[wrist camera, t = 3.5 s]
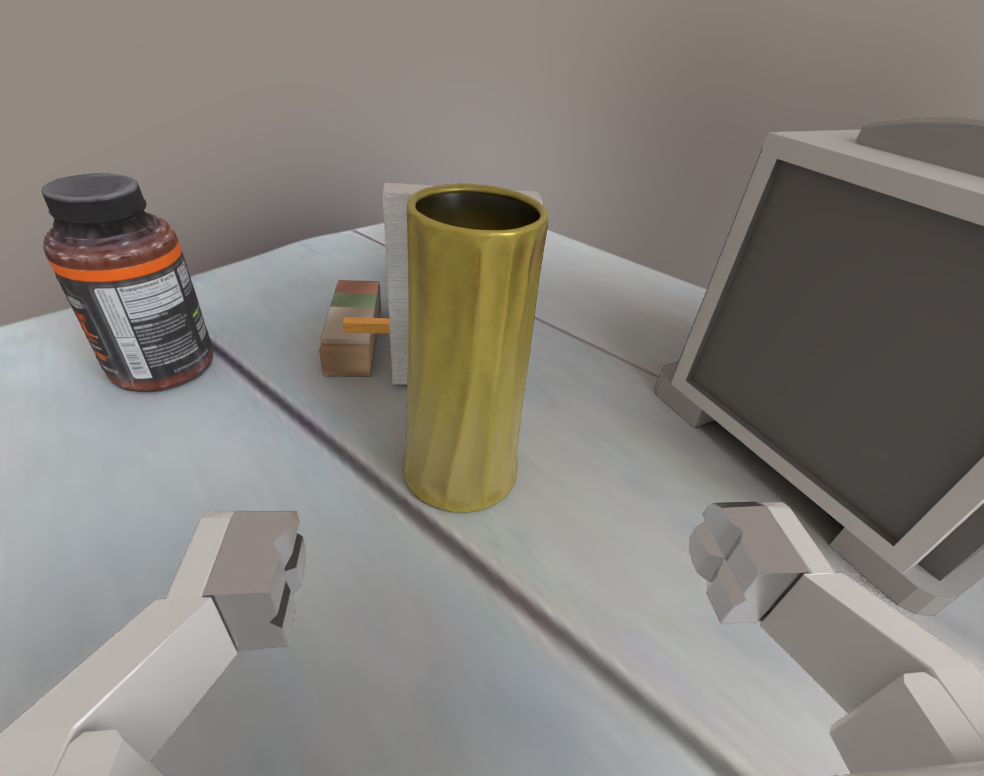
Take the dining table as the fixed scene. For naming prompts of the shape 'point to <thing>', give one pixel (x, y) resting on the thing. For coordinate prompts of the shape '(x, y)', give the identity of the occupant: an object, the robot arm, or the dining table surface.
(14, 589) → the dining table surface
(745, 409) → the grey box
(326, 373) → the rail
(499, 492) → the vase
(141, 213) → the supplement bottle
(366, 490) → the dining table surface
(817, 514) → the dining table surface
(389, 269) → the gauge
